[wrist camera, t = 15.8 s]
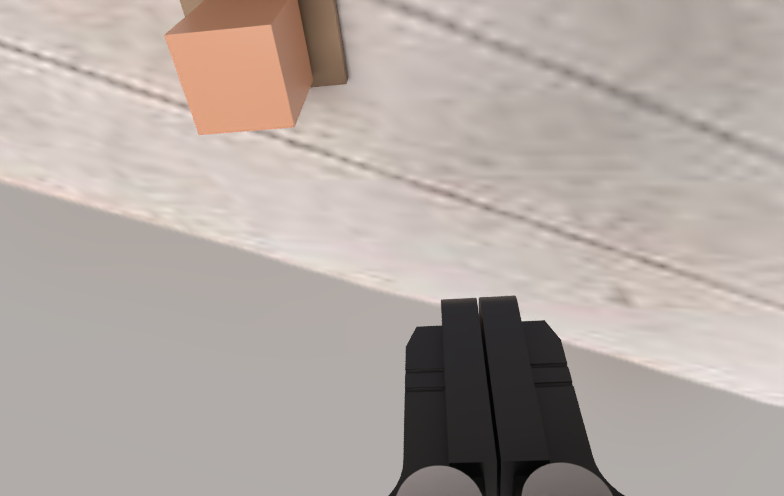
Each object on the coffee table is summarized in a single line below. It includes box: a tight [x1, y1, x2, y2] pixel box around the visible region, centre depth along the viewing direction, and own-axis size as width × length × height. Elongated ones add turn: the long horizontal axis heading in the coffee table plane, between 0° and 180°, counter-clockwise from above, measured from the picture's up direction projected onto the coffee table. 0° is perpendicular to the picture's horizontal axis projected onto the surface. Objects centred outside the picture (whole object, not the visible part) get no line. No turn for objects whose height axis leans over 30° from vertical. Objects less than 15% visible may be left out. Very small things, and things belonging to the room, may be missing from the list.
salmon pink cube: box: [164, 0, 313, 135], centre depth 30 cm, size 5×5×7 cm
